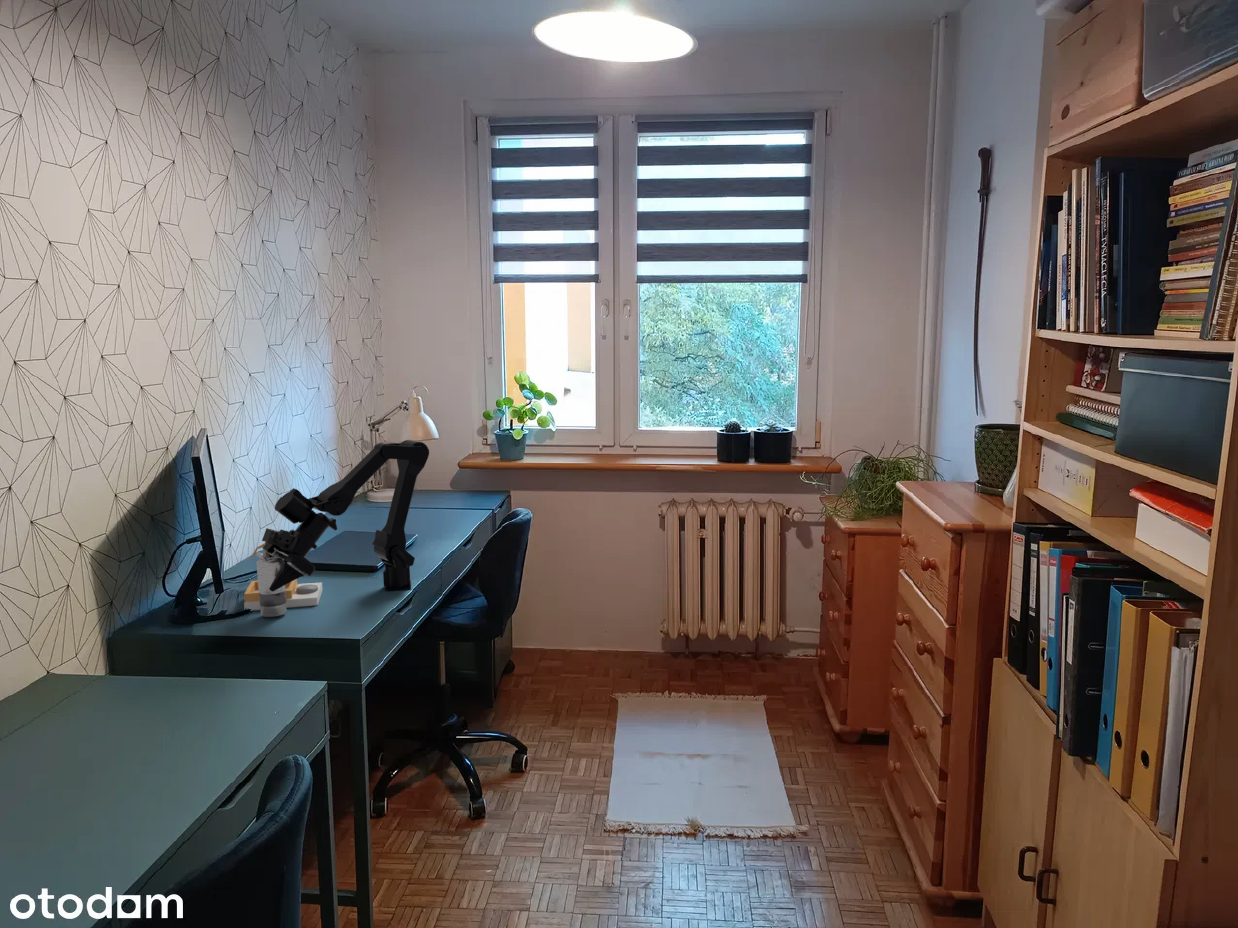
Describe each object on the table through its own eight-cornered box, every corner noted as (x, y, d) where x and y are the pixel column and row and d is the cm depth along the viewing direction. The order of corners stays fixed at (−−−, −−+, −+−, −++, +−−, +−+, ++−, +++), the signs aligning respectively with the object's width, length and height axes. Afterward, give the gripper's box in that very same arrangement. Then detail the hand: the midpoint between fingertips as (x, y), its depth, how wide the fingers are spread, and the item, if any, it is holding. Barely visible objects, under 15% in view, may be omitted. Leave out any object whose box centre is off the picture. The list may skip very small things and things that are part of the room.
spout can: (288, 607, 217) (283, 546, 215) (285, 615, 212) (280, 552, 209) (262, 609, 216) (257, 548, 213) (258, 617, 210) (253, 554, 208)
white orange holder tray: (322, 589, 234) (321, 574, 233) (317, 605, 221) (316, 589, 221) (253, 594, 230) (252, 579, 229) (244, 610, 217) (243, 595, 217)
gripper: (267, 509, 219) (225, 561, 214) (298, 522, 206) (254, 577, 200) (301, 534, 226) (261, 585, 220) (333, 548, 212) (291, 603, 207)
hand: (265, 587), depth 212 cm, fingers closed on spout can, 6 cm apart
